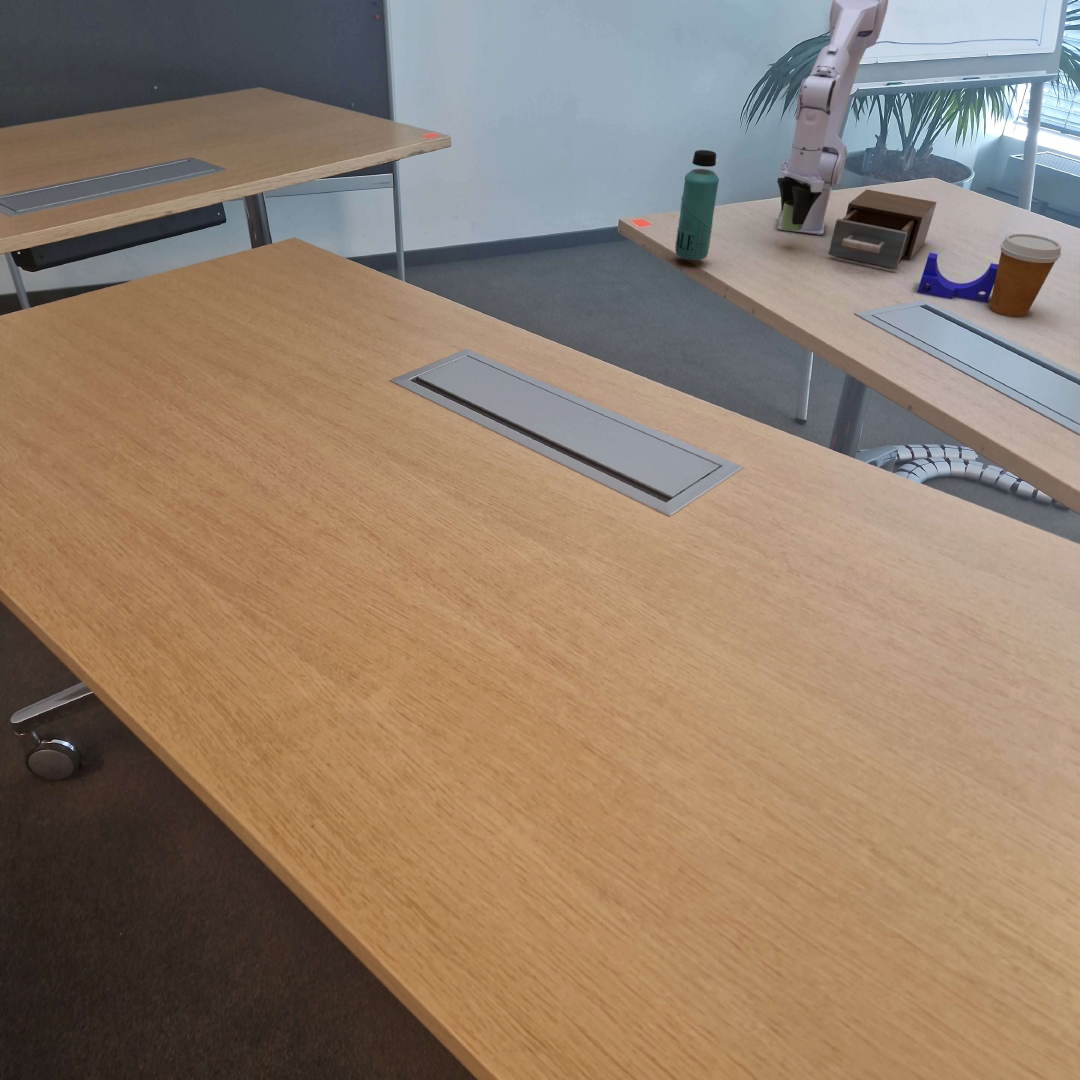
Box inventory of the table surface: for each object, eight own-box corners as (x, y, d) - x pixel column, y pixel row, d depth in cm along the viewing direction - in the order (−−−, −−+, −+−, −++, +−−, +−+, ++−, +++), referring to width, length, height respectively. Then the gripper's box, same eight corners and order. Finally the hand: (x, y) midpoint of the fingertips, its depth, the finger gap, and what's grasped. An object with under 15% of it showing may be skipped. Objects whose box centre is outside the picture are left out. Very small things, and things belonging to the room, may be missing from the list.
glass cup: (789, 231, 174) (794, 207, 171) (775, 225, 177) (779, 201, 174) (806, 229, 175) (811, 205, 172) (792, 223, 178) (796, 199, 176)
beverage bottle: (709, 259, 170) (727, 149, 158) (703, 270, 165) (720, 157, 153) (676, 254, 172) (691, 145, 160) (669, 265, 167) (684, 152, 155)
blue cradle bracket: (917, 292, 161) (927, 259, 157) (919, 284, 164) (929, 252, 160) (987, 305, 157) (998, 272, 153) (988, 297, 160) (999, 264, 156)
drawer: (889, 276, 164) (900, 240, 160) (820, 261, 170) (829, 225, 166) (910, 252, 177) (920, 218, 173) (845, 238, 182) (854, 205, 178)
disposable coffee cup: (1033, 324, 150) (1060, 254, 143) (974, 311, 154) (998, 242, 147) (1040, 308, 157) (1067, 240, 150) (984, 295, 161) (1007, 229, 153)
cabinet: (909, 260, 175) (922, 217, 170) (838, 245, 181) (848, 203, 176) (924, 243, 184) (936, 202, 179) (856, 229, 190) (866, 189, 185)
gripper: (771, 138, 172) (758, 209, 180) (805, 156, 161) (789, 232, 169) (805, 138, 173) (790, 208, 181) (840, 156, 162) (823, 231, 170)
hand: (792, 220), depth 175 cm, fingers closed on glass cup, 4 cm apart
